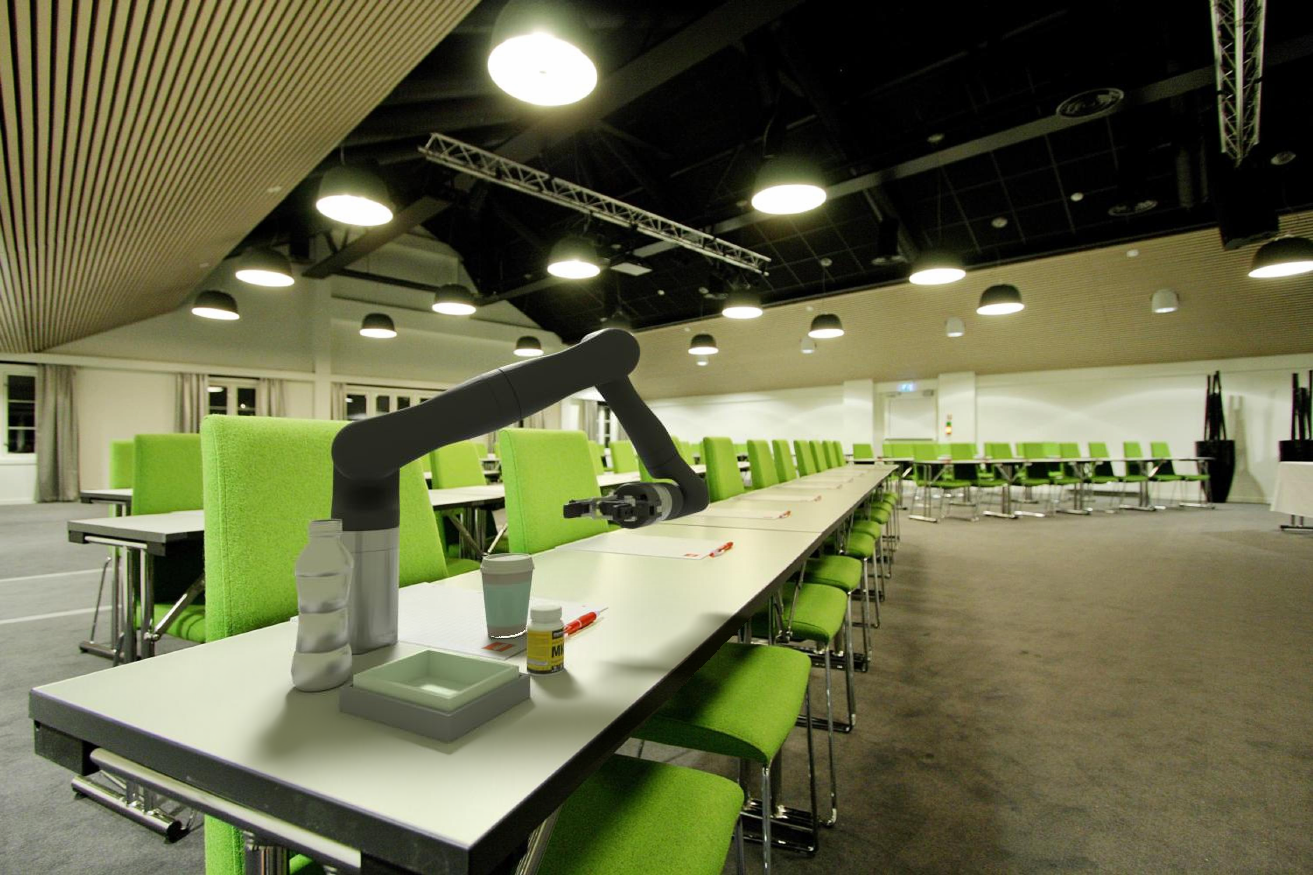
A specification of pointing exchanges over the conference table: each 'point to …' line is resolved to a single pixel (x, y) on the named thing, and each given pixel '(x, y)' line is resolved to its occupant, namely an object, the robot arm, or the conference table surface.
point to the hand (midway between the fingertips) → (589, 512)
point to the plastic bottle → (323, 609)
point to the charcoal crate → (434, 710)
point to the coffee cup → (506, 592)
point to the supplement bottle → (545, 640)
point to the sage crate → (436, 678)
